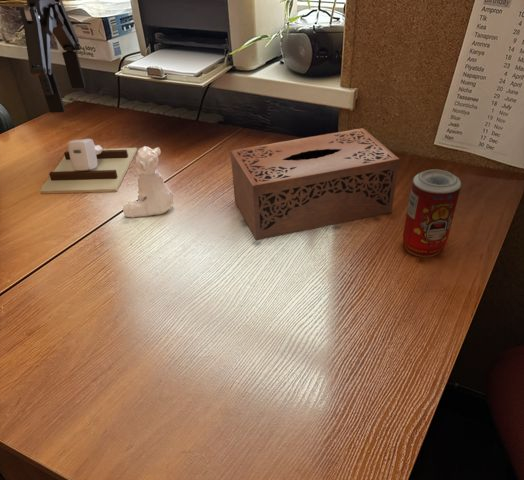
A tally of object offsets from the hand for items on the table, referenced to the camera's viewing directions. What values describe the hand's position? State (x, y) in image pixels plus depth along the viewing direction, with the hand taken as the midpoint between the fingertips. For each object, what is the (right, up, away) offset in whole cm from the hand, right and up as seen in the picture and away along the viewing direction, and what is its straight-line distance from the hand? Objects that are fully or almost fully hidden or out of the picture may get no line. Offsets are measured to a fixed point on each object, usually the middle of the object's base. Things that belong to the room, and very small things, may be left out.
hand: (68, 99), depth 99 cm
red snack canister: (+65, -33, -16) cm, 74 cm away
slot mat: (+1, -10, +10) cm, 15 cm away
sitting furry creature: (+17, -22, -2) cm, 28 cm away
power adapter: (+1, -10, +10) cm, 14 cm away
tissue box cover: (+47, -23, -5) cm, 53 cm away
